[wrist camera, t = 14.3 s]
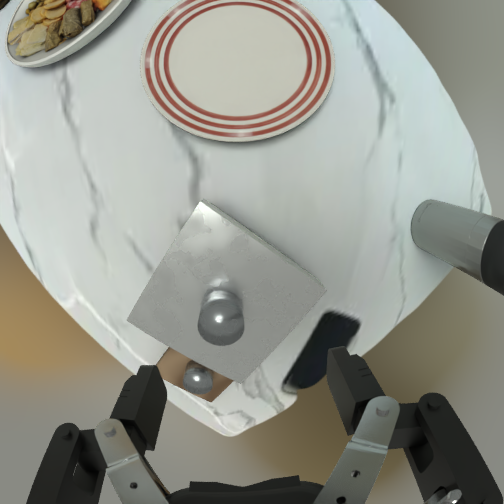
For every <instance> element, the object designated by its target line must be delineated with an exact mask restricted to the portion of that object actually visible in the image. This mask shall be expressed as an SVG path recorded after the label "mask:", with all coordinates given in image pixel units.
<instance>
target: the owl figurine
mask: <svg viewBox="0 0 504 504" xmlns="http://www.w3.org/2000/svg"><path fill="white" fill-rule="evenodd" d="M8 1H9V0H0V10H1V9H2V8H3V7H4V6H5V5H6V3H7V2H8Z"/></svg>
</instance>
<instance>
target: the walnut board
mask: <svg viewBox="0 0 504 504" xmlns="http://www.w3.org/2000/svg"><path fill="white" fill-rule="evenodd" d="M191 360H192V359H190V358H188V357H186V356H185V355H183V354H181V353H179V352H177V351H176V350H174V349H172V348H170V347H169V348H168V349H167V350H166V352H165V353H164V354H163V356H162V357H161V359H160V360H159V361H158V363H157V364H156V366H157V367H158V369H159V371H160V374H161V377H162V379H164V380H166V381H168V382H170V383H172V384H174V385H176V386H178V387H180V388H182V389H184V390H186V389H185V388H184V386H183V378H184V373H185V368H186V364H187V363H188V362H189V361H191ZM233 381H234V380H231V379H229V378H227V377H225V376H223V375H221V374H219V373H217V372H215V371H213V386H212V389H211V391H210V392H208V393H206V394H200V395H199V394H194V395H196V396H198V397H200V398H202V399H205V400H207V401H209V402H212V401H213V400H214V399H215V398H216V397H218V396H219V395H220V394H221V393H222V392H223V391H224V390H225V389H226V388H227V387H228V386H229V385H230V384H231V383H232V382H233ZM186 391H187V390H186ZM188 392H189V391H188ZM190 393H191V392H190ZM192 394H193V393H192Z"/></svg>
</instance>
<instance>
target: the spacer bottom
mask: <svg viewBox="0 0 504 504" xmlns="http://www.w3.org/2000/svg"><path fill="white" fill-rule="evenodd" d="M197 326H198V331H199V334H200V335H201V337H202V338H203V339H204V340H205V341H207V342H208V343H210V344H213V345H217V346H226V345H230V344H233V343H235V342H237V341H238V340H239V339H240V338H241V336H242V335H243V333H244V315H243V305H242V302H241V300H240V299H239V298H238V297H237V296H236V295H235V294H234V293H232V292H229V291H225V290H218V291H214V292H211V293H209V294H208V295H207V296H206V297H205V298H204V299H203V301H202V304H201V308H200V314H199V319H198V325H197Z"/></svg>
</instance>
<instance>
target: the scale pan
mask: <svg viewBox="0 0 504 504" xmlns="http://www.w3.org/2000/svg"><path fill="white" fill-rule="evenodd" d="M218 290H225V291H229V292H232V293H234V294H235V295H236V296H237V297H238V298H239V299H240V300H241V302H242V305H243V315H244V333H243V335H242V336H241V338H240V339H239V340H238V341H237V342H235V343H233V344H230V345H226V346H217V345H213V344H210V343H208V342H207V341H205V340H204V339H203V338H202V337H201V335H200V334H199V331H198V326H197V325H198V319H199V314H200V308H201V304H202V301H203V299H204V298H205V297H206V296H207V295H208V294H209V293H211V292H214V291H218ZM326 291H327V290H326V289H325V287H324V286H323V285H322V283H321V282H320V281H319V280H318V279H317V278H315V277H314V276H313V275H311V274H310V273H309V272H307V271H306V270H304V269H303V268H302V267H300V266H299V265H297V264H296V263H295V262H293V261H292V260H290V259H289V258H288V257H286V256H285V255H283V254H282V253H281V252H279V251H278V250H276V249H275V248H274V247H272V246H271V245H269V244H268V243H267V242H265V241H264V240H262V239H261V238H260V237H258V236H257V235H255V234H254V233H252V232H251V231H250V230H248V229H247V228H245V227H244V226H242V225H241V224H240V223H238V222H237V221H235V220H234V219H233V218H231V217H230V216H228V215H227V214H225V213H224V212H222V211H221V210H220V209H218V208H217V207H215V206H214V205H212V204H211V203H210V202H208V201H207V200H205V199H204V198H203V199H202V200H201V201H200V203H199V204H198V206H197V207H196V209H195V210H194V212H193V213H192V215H191V216H190V218H189V219H188V221H187V222H186V224H185V225H184V227H183V228H182V230H181V231H180V233H179V234H178V236H177V237H176V239H175V240H174V242H173V243H172V245H171V247H170V248H169V250H168V251H167V253H166V254H165V256H164V258H163V259H162V261H161V262H160V264H159V266H158V267H157V269H156V271H155V272H154V274H153V276H152V277H151V279H150V280H149V282H148V284H147V286H146V287H145V289H144V291H143V292H142V294H141V296H140V297H139V299H138V301H137V303H136V304H135V306H134V308H133V310H132V311H131V313H130V315H129V317H128V319H127V321H128V322H130V323H131V324H133V325H134V326H136V327H138V328H139V329H141V330H142V331H144V332H145V333H147V334H149V335H150V336H152V337H154V338H155V339H157V340H159V341H160V342H162V343H164V344H165V345H167V346H169V347H170V348H172V349H174V350H176V351H177V352H179V353H181V354H183V355H185V356H186V357H188V358H190V359H192V360H194V361H196V362H198V363H199V364H201V365H203V366H205V367H207V368H209V369H211V370H213V371H215V372H217V373H219V374H221V375H223V376H225V377H227V378H229V379H231V380H234V381H236V382H238V383H240V384H241V383H242V382H243V381H244V380H245V379H246V378H247V377H248V376H249V375H250V374H251V373H252V372H253V371H254V370H255V369H256V368H257V367H258V366H259V365H260V364H261V363H262V362H263V361H264V360H265V359H266V358H267V357H268V356H269V354H270V353H271V352H272V351H273V350H274V349H275V348H276V347H277V346H278V345H279V344H280V343H281V342H282V341H283V340H284V339H285V337H286V336H287V335H288V334H289V333H290V332H291V331H292V330H293V329H294V328H295V326H296V325H297V324H298V323H299V322H300V321H301V320H302V319H303V317H304V316H305V315H306V314H307V313H308V312H309V311H310V309H311V308H312V307H313V306H314V305H315V304H316V303H317V301H318V300H319V299H320V298H321V297H322V295H323V294H324V293H325V292H326Z"/></svg>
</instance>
